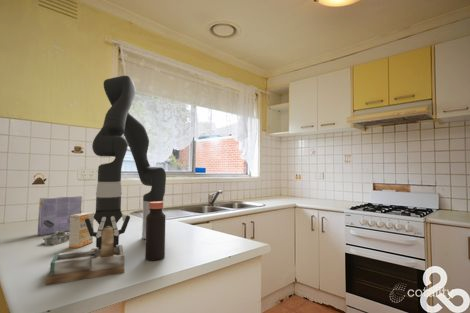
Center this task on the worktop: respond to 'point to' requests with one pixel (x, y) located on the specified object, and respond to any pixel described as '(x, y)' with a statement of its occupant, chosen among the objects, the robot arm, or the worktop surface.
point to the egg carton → (57, 238)
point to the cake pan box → (57, 213)
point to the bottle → (155, 232)
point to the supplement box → (79, 230)
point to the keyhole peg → (107, 242)
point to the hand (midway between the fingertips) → (107, 247)
